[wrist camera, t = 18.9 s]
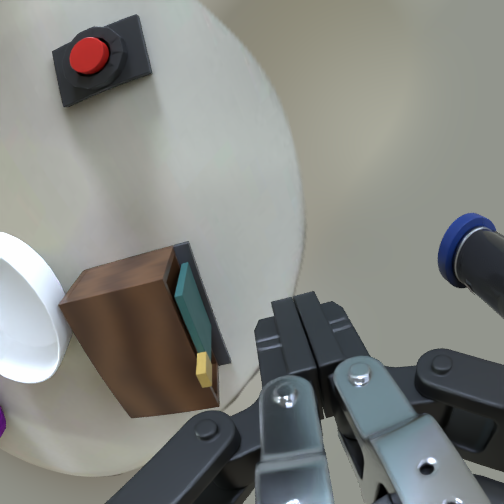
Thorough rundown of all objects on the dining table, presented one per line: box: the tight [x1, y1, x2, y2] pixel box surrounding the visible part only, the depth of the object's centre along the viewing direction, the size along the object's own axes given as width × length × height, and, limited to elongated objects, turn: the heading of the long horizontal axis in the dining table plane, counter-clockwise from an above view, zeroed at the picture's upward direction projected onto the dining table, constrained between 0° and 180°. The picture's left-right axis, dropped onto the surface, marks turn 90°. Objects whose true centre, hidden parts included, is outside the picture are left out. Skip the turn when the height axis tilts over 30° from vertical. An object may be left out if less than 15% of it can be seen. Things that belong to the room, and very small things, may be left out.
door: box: [174, 262, 212, 388], centre depth 32 cm, size 1×9×10 cm, turn 13°
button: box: [70, 37, 109, 74], centre depth 23 cm, size 4×4×2 cm
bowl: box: [0, 232, 72, 383], centre depth 32 cm, size 20×20×8 cm
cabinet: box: [58, 241, 231, 418], centre depth 35 cm, size 14×18×8 cm
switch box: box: [52, 14, 152, 107], centre depth 25 cm, size 10×7×3 cm
